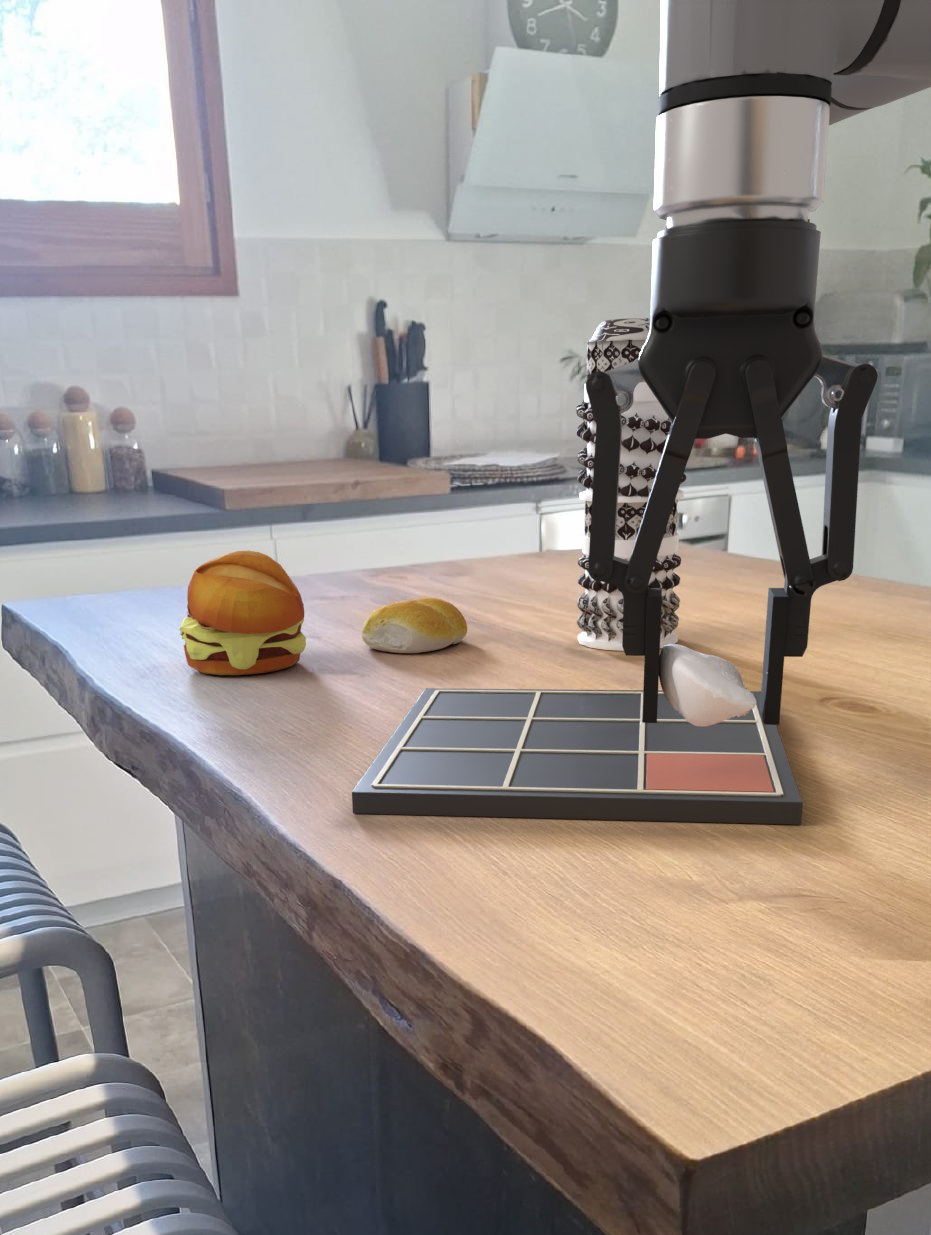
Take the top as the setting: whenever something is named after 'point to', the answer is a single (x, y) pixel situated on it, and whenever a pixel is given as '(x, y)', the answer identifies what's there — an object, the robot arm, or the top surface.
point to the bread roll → (414, 626)
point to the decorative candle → (626, 490)
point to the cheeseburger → (242, 616)
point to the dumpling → (702, 686)
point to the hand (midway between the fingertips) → (709, 716)
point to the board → (578, 761)
